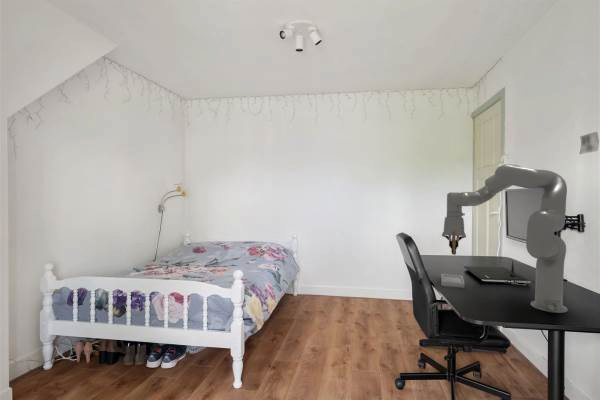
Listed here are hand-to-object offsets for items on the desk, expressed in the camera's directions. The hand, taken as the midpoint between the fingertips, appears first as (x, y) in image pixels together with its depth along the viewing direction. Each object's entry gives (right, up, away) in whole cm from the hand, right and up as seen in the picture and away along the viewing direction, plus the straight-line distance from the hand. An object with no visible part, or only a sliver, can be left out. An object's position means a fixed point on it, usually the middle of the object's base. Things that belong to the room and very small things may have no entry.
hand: (453, 248), depth 180 cm
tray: (0, -19, +1) cm, 19 cm away
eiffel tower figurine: (+34, -20, +3) cm, 40 cm away
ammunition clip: (0, -3, 0) cm, 3 cm away
